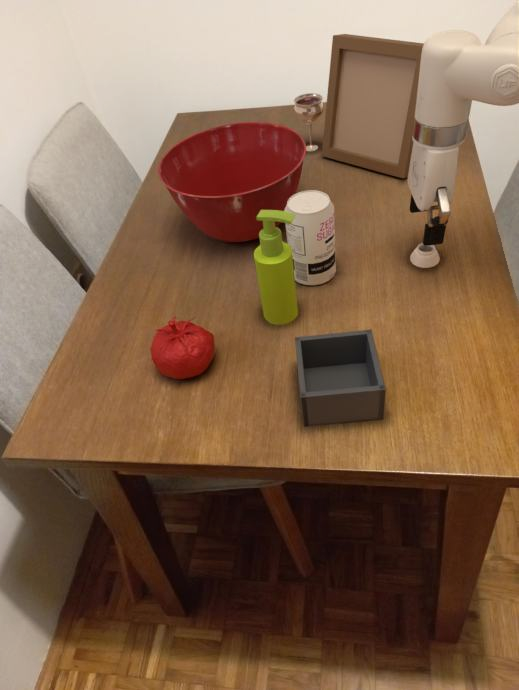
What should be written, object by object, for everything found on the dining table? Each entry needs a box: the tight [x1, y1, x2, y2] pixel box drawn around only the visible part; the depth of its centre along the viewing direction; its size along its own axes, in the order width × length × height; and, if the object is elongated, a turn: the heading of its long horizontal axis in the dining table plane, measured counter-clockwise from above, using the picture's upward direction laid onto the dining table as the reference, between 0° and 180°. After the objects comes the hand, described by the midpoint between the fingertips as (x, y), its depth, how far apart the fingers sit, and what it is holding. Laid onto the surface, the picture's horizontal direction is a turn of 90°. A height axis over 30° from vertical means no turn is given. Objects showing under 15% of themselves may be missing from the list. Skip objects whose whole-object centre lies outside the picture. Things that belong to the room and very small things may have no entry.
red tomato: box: [150, 315, 216, 380], centre depth 81 cm, size 10×10×9 cm
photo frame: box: [321, 33, 425, 179], centre depth 113 cm, size 15×22×25 cm
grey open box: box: [294, 329, 387, 428], centre depth 74 cm, size 7×11×11 cm
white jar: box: [409, 242, 441, 269], centre depth 93 cm, size 5×3×5 cm
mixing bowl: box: [157, 121, 307, 243], centre depth 105 cm, size 28×28×15 cm
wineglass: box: [293, 92, 324, 152], centre depth 125 cm, size 7×7×12 cm
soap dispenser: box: [253, 210, 299, 326], centre depth 82 cm, size 6×7×20 cm
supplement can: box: [284, 189, 337, 286], centre depth 91 cm, size 8×8×15 cm
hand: (425, 226), depth 90 cm, fingers open, 9 cm apart
